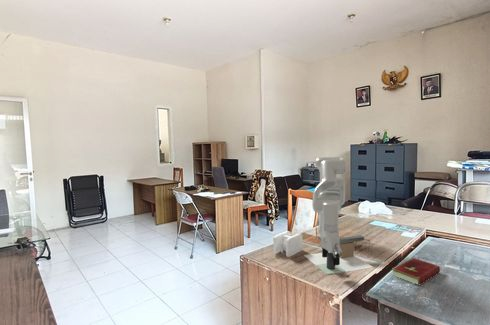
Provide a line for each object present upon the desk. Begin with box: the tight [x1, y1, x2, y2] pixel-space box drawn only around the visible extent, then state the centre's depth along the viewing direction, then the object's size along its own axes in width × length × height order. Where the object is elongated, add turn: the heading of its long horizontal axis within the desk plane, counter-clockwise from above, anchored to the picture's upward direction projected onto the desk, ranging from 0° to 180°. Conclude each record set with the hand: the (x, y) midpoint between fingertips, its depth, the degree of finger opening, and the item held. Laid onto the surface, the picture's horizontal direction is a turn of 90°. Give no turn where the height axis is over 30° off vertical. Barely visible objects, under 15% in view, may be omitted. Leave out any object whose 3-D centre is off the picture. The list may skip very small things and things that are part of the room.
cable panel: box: [303, 242, 373, 276], centre depth 143 cm, size 24×26×9 cm
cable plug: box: [327, 251, 335, 270], centre depth 134 cm, size 4×4×7 cm
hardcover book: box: [391, 257, 441, 286], centre depth 129 cm, size 12×21×4 cm, turn 123°
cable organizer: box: [272, 230, 304, 258], centre depth 157 cm, size 15×11×12 cm
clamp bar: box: [339, 235, 365, 244], centre depth 149 cm, size 3×18×2 cm, turn 105°
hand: (330, 260), depth 134 cm, fingers open, 9 cm apart
